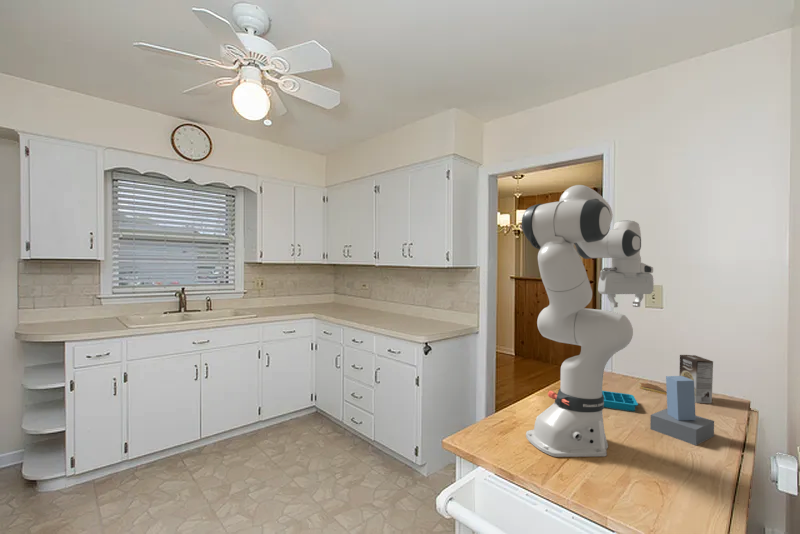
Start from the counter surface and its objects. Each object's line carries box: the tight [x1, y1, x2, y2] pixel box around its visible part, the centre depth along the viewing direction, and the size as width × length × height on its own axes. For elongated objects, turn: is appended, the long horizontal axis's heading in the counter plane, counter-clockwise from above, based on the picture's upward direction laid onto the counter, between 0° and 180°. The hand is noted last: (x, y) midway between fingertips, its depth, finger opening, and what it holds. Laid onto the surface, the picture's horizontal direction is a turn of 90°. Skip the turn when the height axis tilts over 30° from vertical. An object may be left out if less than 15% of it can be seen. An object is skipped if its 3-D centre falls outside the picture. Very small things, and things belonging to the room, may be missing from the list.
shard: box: [637, 382, 667, 396], centre depth 153 cm, size 11×8×2 cm
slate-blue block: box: [665, 375, 697, 420], centre depth 114 cm, size 5×5×12 cm
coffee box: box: [679, 354, 714, 404], centre depth 143 cm, size 9×6×16 cm
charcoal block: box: [649, 408, 715, 446], centre depth 114 cm, size 12×12×5 cm
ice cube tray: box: [602, 390, 639, 412], centre depth 138 cm, size 12×20×3 cm, turn 66°
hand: (625, 307), depth 129 cm, fingers open, 8 cm apart
